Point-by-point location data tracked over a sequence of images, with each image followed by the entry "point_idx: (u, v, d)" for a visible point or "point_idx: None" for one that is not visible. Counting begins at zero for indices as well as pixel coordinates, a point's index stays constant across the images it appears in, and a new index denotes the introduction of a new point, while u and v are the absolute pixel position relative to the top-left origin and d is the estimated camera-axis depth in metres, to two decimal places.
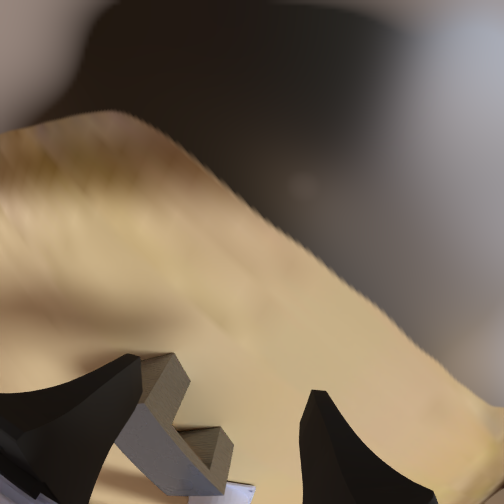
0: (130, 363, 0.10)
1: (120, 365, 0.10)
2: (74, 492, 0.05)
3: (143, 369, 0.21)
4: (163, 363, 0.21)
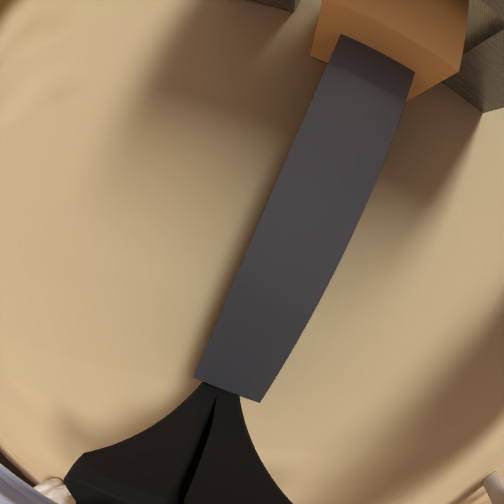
0: None
1: (211, 389, 0.09)
2: None
3: None
4: None
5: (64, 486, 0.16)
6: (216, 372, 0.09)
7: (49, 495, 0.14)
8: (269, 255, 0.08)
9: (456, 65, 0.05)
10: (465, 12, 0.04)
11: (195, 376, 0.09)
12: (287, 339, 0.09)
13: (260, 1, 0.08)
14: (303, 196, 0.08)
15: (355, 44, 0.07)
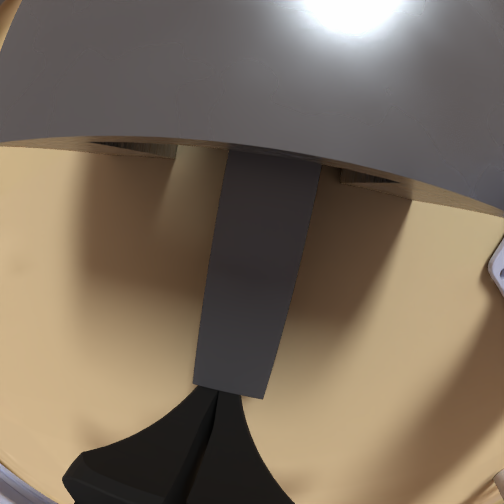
0: None
1: (210, 389, 0.09)
2: None
3: None
4: None
5: None
6: (212, 375, 0.09)
7: None
8: (233, 250, 0.08)
9: None
10: None
11: (194, 382, 0.09)
12: (272, 330, 0.09)
13: None
14: (253, 184, 0.08)
15: None
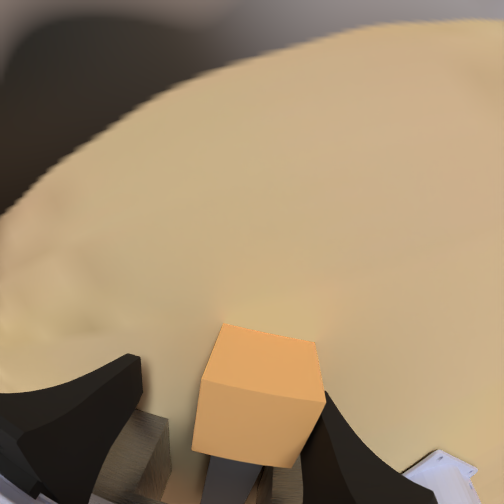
0: (130, 363, 0.10)
1: (120, 365, 0.10)
2: (74, 492, 0.05)
3: None
4: None
5: None
6: None
7: None
8: (212, 497, 0.12)
9: (289, 466, 0.09)
10: (310, 428, 0.09)
11: None
12: None
13: None
14: (219, 485, 0.12)
15: None
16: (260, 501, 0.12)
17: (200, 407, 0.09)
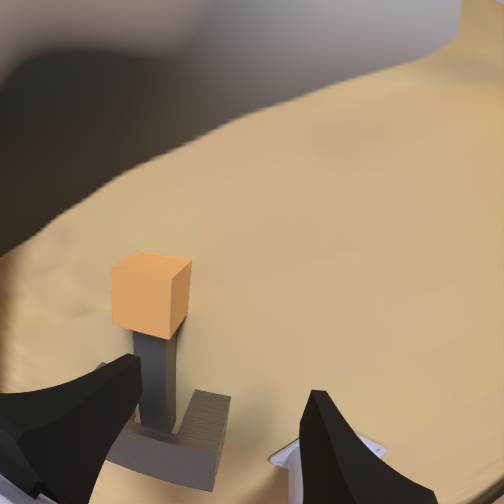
0: (130, 363, 0.10)
1: (120, 365, 0.10)
2: (74, 492, 0.05)
3: None
4: None
5: None
6: None
7: None
8: (144, 395, 0.20)
9: (167, 337, 0.17)
10: (169, 300, 0.16)
11: None
12: (163, 418, 0.20)
13: None
14: (145, 378, 0.20)
15: None
16: None
17: (112, 286, 0.16)
